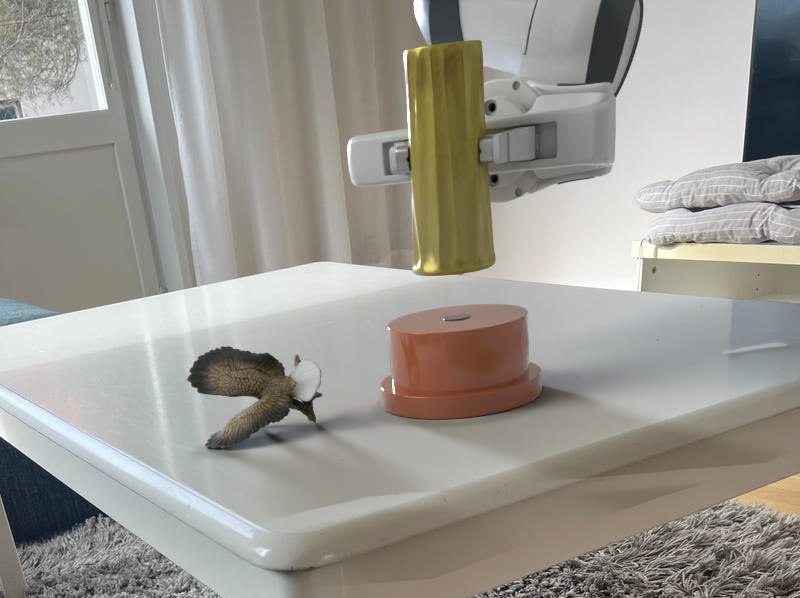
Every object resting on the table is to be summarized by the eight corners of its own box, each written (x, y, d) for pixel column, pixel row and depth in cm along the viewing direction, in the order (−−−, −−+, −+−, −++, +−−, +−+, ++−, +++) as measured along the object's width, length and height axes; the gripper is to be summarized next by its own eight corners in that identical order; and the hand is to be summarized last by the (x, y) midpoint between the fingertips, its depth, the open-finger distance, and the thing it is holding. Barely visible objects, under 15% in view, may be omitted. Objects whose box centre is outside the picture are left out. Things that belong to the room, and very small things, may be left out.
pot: (532, 370, 81) (531, 294, 78) (550, 409, 70) (549, 323, 67) (384, 385, 83) (377, 311, 80) (379, 425, 72) (371, 341, 69)
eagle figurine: (285, 394, 79) (179, 397, 75) (309, 322, 73) (196, 321, 70) (318, 462, 75) (208, 469, 71) (346, 391, 70) (229, 394, 66)
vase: (504, 268, 69) (497, 35, 63) (419, 280, 69) (403, 48, 63) (485, 259, 75) (477, 43, 68) (406, 269, 75) (391, 55, 68)
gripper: (383, 113, 82) (307, 122, 71) (634, 78, 72) (589, 83, 62) (390, 195, 85) (317, 215, 74) (632, 171, 75) (588, 191, 65)
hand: (443, 155), depth 68 cm, fingers closed on vase, 5 cm apart
